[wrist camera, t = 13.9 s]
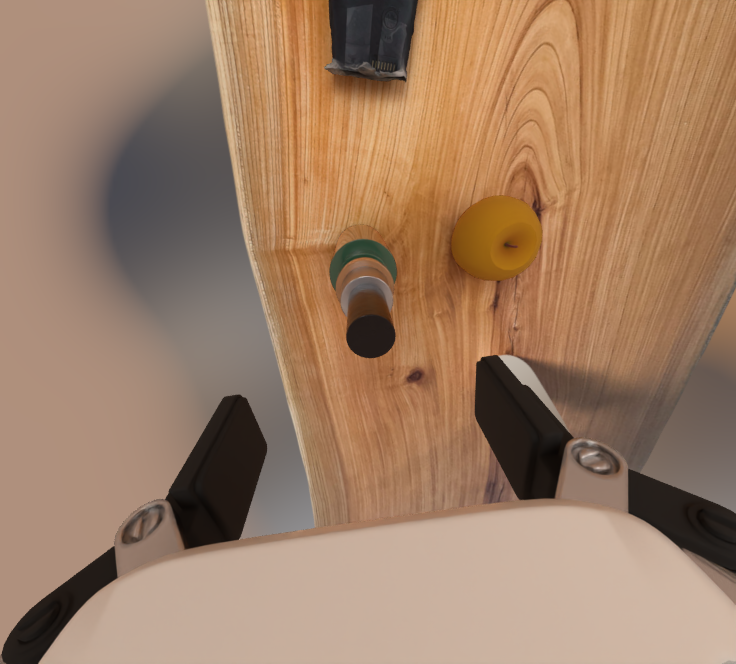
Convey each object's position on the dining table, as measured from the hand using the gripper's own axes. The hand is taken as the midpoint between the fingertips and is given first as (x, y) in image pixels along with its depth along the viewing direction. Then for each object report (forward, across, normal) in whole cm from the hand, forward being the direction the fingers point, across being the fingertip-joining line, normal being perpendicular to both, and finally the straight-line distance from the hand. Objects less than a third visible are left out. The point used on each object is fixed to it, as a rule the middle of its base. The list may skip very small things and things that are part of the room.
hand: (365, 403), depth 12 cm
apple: (+32, -17, +1) cm, 37 cm away
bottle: (+32, -1, +1) cm, 32 cm away
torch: (+15, -1, +1) cm, 15 cm away
